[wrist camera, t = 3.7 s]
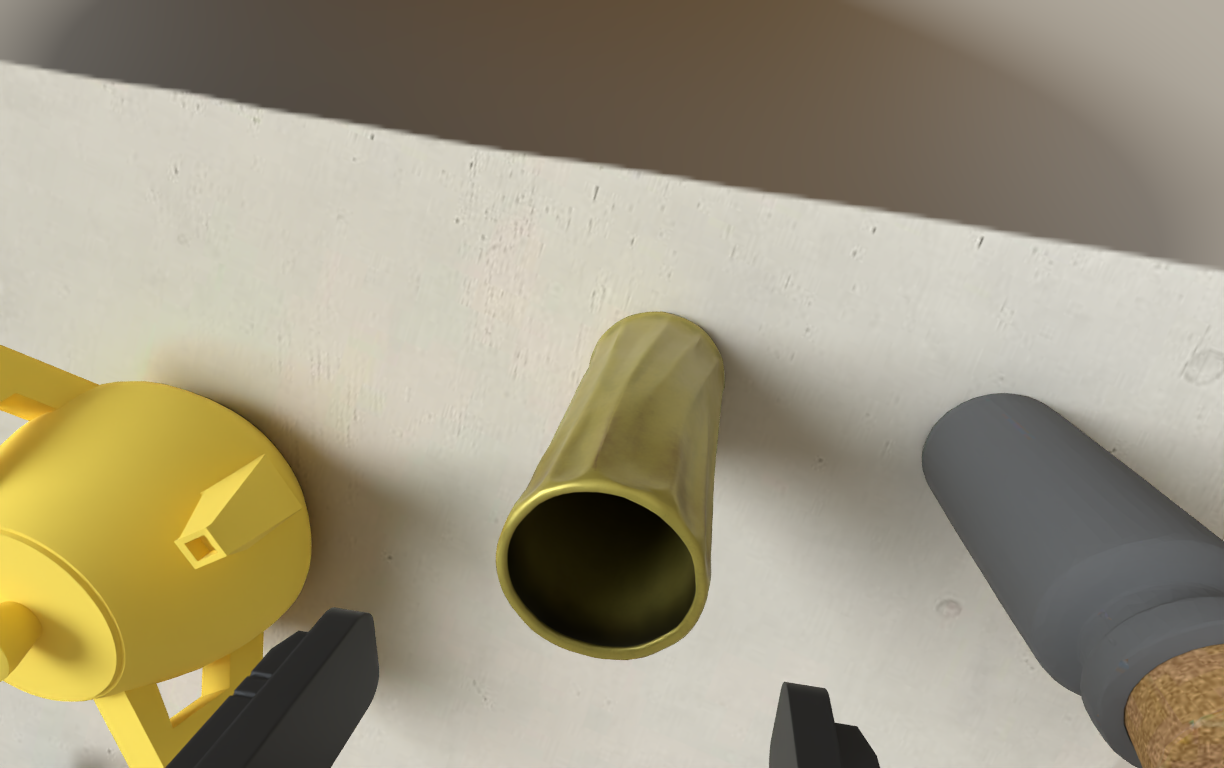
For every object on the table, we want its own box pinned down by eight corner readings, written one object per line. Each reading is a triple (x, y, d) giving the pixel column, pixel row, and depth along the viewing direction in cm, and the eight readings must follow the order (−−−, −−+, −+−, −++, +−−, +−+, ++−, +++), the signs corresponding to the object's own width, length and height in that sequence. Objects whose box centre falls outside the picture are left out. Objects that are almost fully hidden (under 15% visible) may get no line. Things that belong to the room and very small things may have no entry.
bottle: (1090, 402, 25) (1543, 709, 11) (1040, 523, 27) (1370, 904, 13) (941, 381, 26) (1195, 646, 12) (904, 500, 28) (1084, 842, 14)
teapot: (78, 303, 32) (-266, 386, 21) (373, 434, 32) (185, 587, 20) (70, 546, 38) (-195, 707, 27) (314, 655, 38) (147, 862, 27)
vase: (726, 436, 28) (732, 683, 15) (597, 438, 29) (497, 670, 16) (722, 306, 26) (723, 461, 13) (582, 314, 27) (455, 465, 14)
